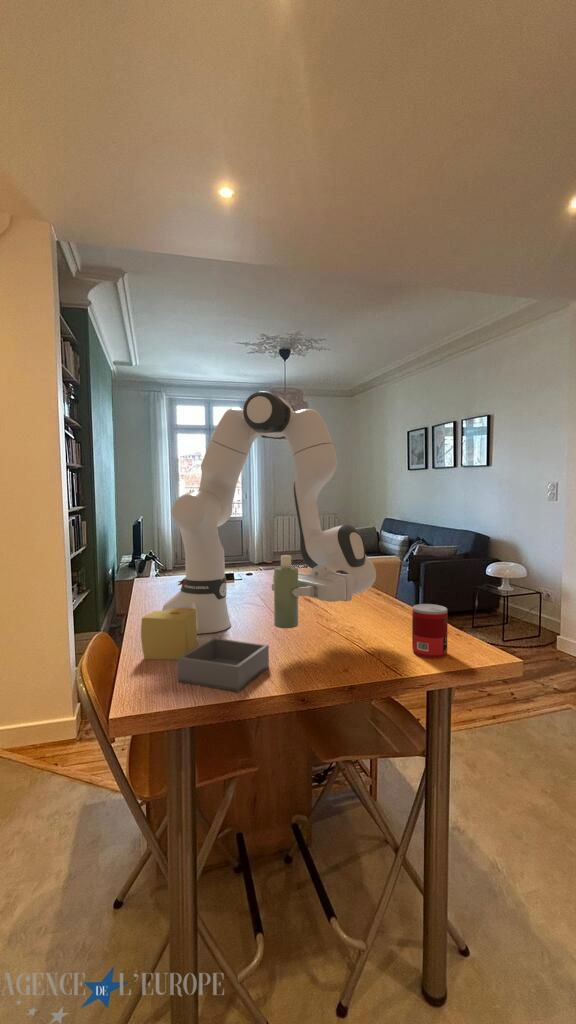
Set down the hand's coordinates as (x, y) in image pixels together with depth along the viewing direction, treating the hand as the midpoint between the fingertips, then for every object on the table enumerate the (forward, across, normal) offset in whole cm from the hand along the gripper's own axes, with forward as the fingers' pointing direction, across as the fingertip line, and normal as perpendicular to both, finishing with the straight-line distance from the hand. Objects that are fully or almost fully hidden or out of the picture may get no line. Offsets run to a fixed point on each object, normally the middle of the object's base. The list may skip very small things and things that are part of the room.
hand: (283, 590), depth 108 cm
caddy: (+15, -2, +16) cm, 22 cm away
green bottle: (-1, 0, +8) cm, 8 cm away
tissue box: (+17, -22, +17) cm, 32 cm away
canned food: (-29, +20, +16) cm, 39 cm away
